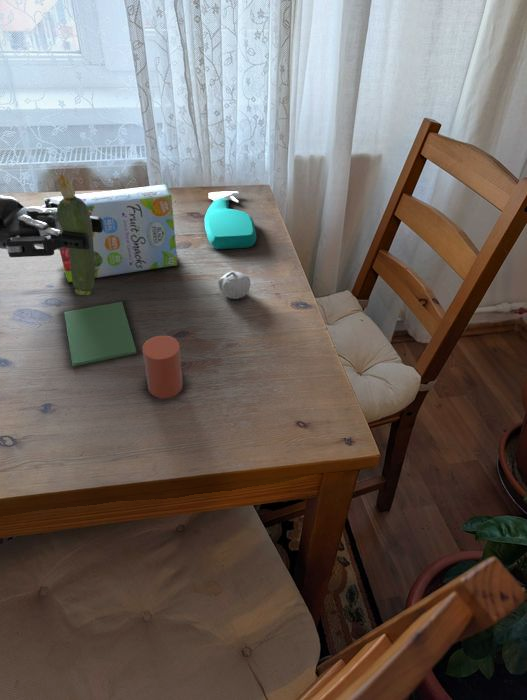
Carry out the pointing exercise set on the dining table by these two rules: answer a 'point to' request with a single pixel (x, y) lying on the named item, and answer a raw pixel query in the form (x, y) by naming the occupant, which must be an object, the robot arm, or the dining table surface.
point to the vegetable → (78, 219)
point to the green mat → (98, 333)
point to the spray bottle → (228, 223)
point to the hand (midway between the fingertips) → (95, 233)
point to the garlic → (234, 284)
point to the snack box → (129, 230)
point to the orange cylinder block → (163, 366)
